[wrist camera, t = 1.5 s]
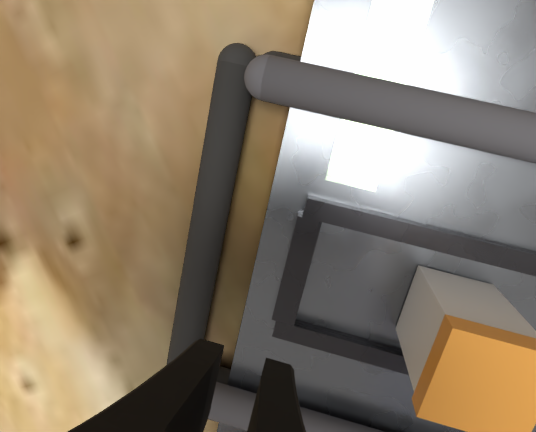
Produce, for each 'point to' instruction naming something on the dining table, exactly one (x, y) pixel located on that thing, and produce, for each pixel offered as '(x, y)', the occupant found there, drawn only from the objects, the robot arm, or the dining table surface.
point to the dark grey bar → (241, 405)
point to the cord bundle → (326, 103)
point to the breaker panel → (388, 206)
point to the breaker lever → (468, 354)
